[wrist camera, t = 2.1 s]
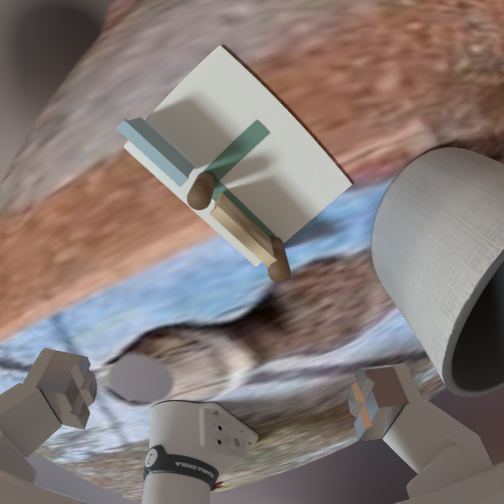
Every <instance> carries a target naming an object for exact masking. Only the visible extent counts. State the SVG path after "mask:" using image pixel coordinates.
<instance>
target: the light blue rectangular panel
mask: <svg viewBox="0 0 504 504" xmlns="http://www.w3.org/2000/svg"><path fill="white" fill-rule="evenodd" d="M117 130H118V131H119V132H120V133H121V134H122V135H124V136H125V137H126V138H127V139H128V140H129V141H130V142H131V143H132V144H133V145H134V146H136V147H137V148H138V149H139V150H140V151H141V152H142V153H143V154H144V155H145V156H147V157H148V158H149V159H150V160H151V161H152V162H153V163H154V164H155V165H156V166H157V167H159V168H160V169H161V170H162V171H163V172H164V173H165V174H166V175H167V176H168V177H170V178H171V179H172V180H173V181H174V182H175V183H176V184H177V185H178V186H179V187H181V186H182V185H183V184H184V183H185V182H186V181H187V180H188V179H189V175H190V173H191V172H192V170H193V169H194V166H193V165H192V164H191V163H190V162H189V161H188V160H187V159H186V158H185V157H183V156H182V155H181V154H180V153H179V152H178V151H177V150H176V149H175V148H174V147H173V146H172V145H170V144H169V143H168V142H167V141H166V140H165V139H164V138H163V137H162V136H161V135H160V134H158V133H157V132H156V131H155V130H154V129H153V128H152V127H151V126H150V125H149V124H147V123H146V122H145V121H144V120H143V119H142V118H137V119H133V120H129V121H127V120H126V119H125V120H123V122H122V123H121V124H120V125H119V126H118V128H117Z"/></svg>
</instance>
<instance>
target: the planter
mask: <svg viewBox="0 0 504 504" xmlns="http://www.w3.org/2000/svg"><path fill="white" fill-rule="evenodd" d="M371 254H372V260H373V264H374V267H375V270H376V273H377V275H378V277H379V279H380V281H381V283H382V285H383V286H384V288H385V290H386V291H387V293H388V294H389V296H390V297H391V299H392V300H393V301H394V303H395V304H396V306H397V307H398V309H399V310H400V312H401V313H402V315H403V316H404V318H405V320H406V321H407V323H408V324H409V326H410V327H411V329H412V330H413V332H414V333H415V335H416V337H417V338H418V340H419V341H420V343H421V345H422V346H423V348H424V350H425V351H426V353H427V355H428V356H429V358H430V360H431V361H432V363H433V365H434V367H435V368H436V370H437V372H438V374H439V375H440V377H441V379H442V381H443V382H444V384H445V386H446V387H447V388H448V390H449V391H450V392H452V393H453V394H455V395H458V396H463V397H474V396H480V395H484V394H487V393H490V392H492V391H495V390H496V389H499V388H501V387H503V386H504V164H503V163H500V162H498V161H496V160H493V159H491V158H489V157H486V156H484V155H481V154H479V153H476V152H474V151H471V150H467V149H463V148H456V147H445V148H439V149H435V150H432V151H429V152H427V153H425V154H423V155H421V156H419V157H418V158H416V159H415V160H413V161H412V162H411V163H409V164H408V165H407V166H406V167H405V168H404V169H403V170H402V171H401V172H400V173H399V174H398V175H397V176H396V178H395V179H394V180H393V181H392V183H391V184H390V186H389V187H388V189H387V190H386V192H385V194H384V196H383V198H382V200H381V202H380V204H379V207H378V209H377V212H376V215H375V219H374V223H373V227H372V234H371Z"/></svg>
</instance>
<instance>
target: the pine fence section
mask: <svg viewBox="0 0 504 504" xmlns="http://www.w3.org/2000/svg"><path fill="white" fill-rule="evenodd" d="M215 185H216V178H215V176H214V175H213V174H212V173H211V172H208V171H204V172H201V173H200V174H199V175H198V176H197V178H196V179H195V181H194V183H193V185H192V187H191V189H190V191H189V193H188V195H187V202H188V204H189V206H190V207H191V208H193V209H195V210H204V209H206V208H207V207H208V206H209V205H210V203H211V199H212V196H213V192H214V189H215ZM210 215H211V216H212V217H213V218H215V219H216V220H217V221H218V222H219V223H220V224H221V225H222V226H223V227H224V228H226V229H227V230H228V231H229V232H230V233H231V234H232V235H233V236H234V237H235V238H236V239H238V240H239V241H240V242H241V243H242V244H243V245H244V246H245V247H246V248H247V249H249V250H250V251H251V252H252V253H253V254H254V255H255V256H256V257H257V258H258V259H260V260H261V261H262V262H263V263H264V264H265V265H266V266H267V267H268V273H269V277H270V279H271V280H273V281H275V282H283V281H285V280H287V279H288V278H289V276H290V273H291V271H290V267H289V263H288V260H287V256H286V252H285V249H284V245H283V241H282V240H281V239H280V238H279V237H276V236H274V237H270V238H269V237H268V236H267V235H266V234H265V233H264V232H263V231H262V230H261V229H260V228H259V227H258V226H257V225H256V224H255V223H254V222H253V221H252V220H251V219H250V218H248V217H247V216H246V215H245V214H244V213H243V212H242V211H241V210H240V209H239V208H238V207H237V206H236V205H235V204H234V203H233V202H232V201H231V200H229V199H228V198H227V197H226V196H225V195H224V194H223V193H222V192H221V193H220V194H219V195H218V196H217V197H216V201H215V206H214V209H213V210H212V211H211V212H210Z"/></svg>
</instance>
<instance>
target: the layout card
mask: <svg viewBox="0 0 504 504" xmlns="http://www.w3.org/2000/svg"><path fill="white" fill-rule="evenodd" d="M145 122H146V123H147V124H149V125H150V126H151V127H152V128H153V129H154V130H155V131H156V132H157V133H158V134H160V135H161V136H162V137H163V138H164V139H165V140H166V141H167V142H168V143H169V144H170V145H172V146H173V147H174V148H175V149H176V150H177V151H178V152H179V153H180V154H181V155H182V156H183V157H185V158H186V159H187V160H188V161H189V162H190V163H191V164H192V165H193V166H194V169H193V170H192V172H191V173H190V175H189V179H188V180H187V181H186V182H185V183H184V184H183V185H182V186H181V187H179V186H178V185H177V184H176V183H175V182H174V181H173V180H172V179H171V178H170V177H168V176H167V175H166V174H165V173H164V172H163V171H162V170H161V169H160V168H159V167H157V166H156V165H155V164H154V163H153V162H152V161H151V160H150V159H149V158H148V157H147V156H145V155H144V154H143V153H142V152H141V151H140V150H139V149H138V148H137V147H136V146H134V145H133V144H132V143H131V142H130V141H129V140H128V142H127V143H126V144H125V145H124V148H125V149H126V150H127V151H128V152H129V153H130V154H132V155H133V156H134V157H135V158H136V159H137V160H138V161H139V162H140V163H141V164H143V165H144V166H145V167H146V168H147V169H148V170H149V171H150V172H151V173H152V174H154V175H155V176H156V177H157V178H158V179H159V180H160V181H161V182H162V183H163V184H165V185H166V186H167V187H168V188H169V189H170V190H171V191H172V192H173V193H174V194H176V195H177V196H178V197H179V198H180V199H181V200H182V201H183V202H184V203H186V204H187V205H188V206H189V204H188V202H187V195H188V193H189V191H190V189H191V187H192V185H193V183H194V181H195V179H196V178H197V176H198V175H199V174H200V173H201V172H204V171H208V172H211V173H212V174H213V175H214V176H215V178H216V185H215V189H214V192H213V196H212V199H211V203H210V205H209V206H208V207H207V208H206V209H204V210H195V209H193V208H191V207H190V206H189V207H190V208H191V209H192V210H193V211H194V212H195V213H197V214H198V215H199V216H200V217H201V218H202V219H203V220H204V221H205V222H207V223H208V224H209V225H210V226H211V227H212V228H213V229H214V230H215V231H217V232H218V233H219V234H220V235H221V236H222V237H223V238H224V239H225V240H227V241H228V242H229V243H230V244H231V245H232V246H233V247H234V248H236V249H237V250H238V251H239V252H240V253H241V254H242V255H243V256H244V257H246V258H247V259H248V260H249V261H250V262H251V263H252V264H253V265H255V266H256V267H257V266H258V265H259V264H260V263H261V262H262V261H261V260H260V259H258V258H257V257H256V256H255V255H254V254H253V253H252V252H251V251H250V250H249V249H247V248H246V247H245V246H244V245H243V244H242V243H241V242H240V241H239V240H238V239H236V238H235V237H234V236H233V235H232V234H231V233H230V232H229V231H228V230H227V229H226V228H224V227H223V226H222V225H221V224H220V223H219V222H218V221H217V220H216V219H215V218H213V217H212V216H211V215H210V212H211V211H212V210H213V209H214V206H215V201H216V197H217V196H218V195H219V194H220V193H221V192H222V193H223V194H224V195H225V196H226V197H227V198H228V199H229V200H231V201H232V202H233V203H234V204H235V205H236V206H237V207H238V208H239V209H240V210H241V211H242V212H243V213H244V214H245V215H246V216H247V217H248V218H250V219H251V220H252V221H253V222H254V223H255V224H256V225H257V226H258V227H259V228H260V229H261V230H262V231H263V232H264V233H265V234H266V235H267V236H268V237H269V238H270V237H274V236H276V237H279V238H280V239H281V240H282V241H283V244H284V243H285V242H286V241H287V240H288V239H290V238H291V237H292V236H293V235H294V234H295V233H297V232H298V231H299V230H300V229H301V228H302V227H304V226H305V225H306V224H307V223H308V222H309V221H311V220H312V219H313V218H314V217H315V216H316V215H318V214H319V213H320V212H321V211H322V210H323V209H325V208H326V207H327V206H328V205H329V204H330V203H331V202H333V201H334V200H335V199H336V198H337V197H338V196H340V195H341V194H342V193H343V192H344V191H345V190H346V189H348V188H349V187H350V186H351V185H352V184H351V182H350V181H349V180H348V179H347V177H346V176H345V175H344V174H343V173H342V171H341V170H340V169H339V168H338V167H337V165H336V164H335V163H334V162H333V161H332V159H331V158H330V157H329V156H328V155H327V154H326V152H325V151H324V150H323V149H322V148H321V147H320V146H319V144H318V143H317V142H316V141H315V140H314V139H313V138H312V136H311V135H310V134H309V133H308V132H307V131H306V130H305V129H304V128H303V127H302V125H301V124H300V123H299V122H298V121H297V120H296V119H295V118H294V117H293V116H292V115H291V114H290V113H289V111H288V110H287V109H286V108H285V107H284V106H283V105H282V104H281V103H280V102H279V101H278V100H277V99H276V98H275V97H274V96H273V95H272V94H271V93H270V92H269V91H268V90H267V89H266V88H265V87H264V86H263V85H262V84H261V83H260V82H259V81H258V80H257V79H256V78H255V77H254V76H253V75H252V74H251V73H250V72H249V71H248V70H247V69H245V68H244V67H243V66H242V65H241V64H240V63H239V62H238V61H237V60H236V59H235V58H234V57H233V56H232V55H230V54H229V53H228V52H227V51H226V50H225V49H224V48H223V47H222V46H220V45H219V46H218V47H217V48H216V49H215V50H214V51H213V52H212V53H211V54H209V55H208V56H207V57H206V58H205V59H204V60H203V61H202V62H201V63H200V64H199V65H198V66H197V67H196V68H195V69H194V70H193V71H192V72H191V73H190V74H189V75H188V76H187V77H186V78H185V79H184V80H183V81H182V82H181V83H180V84H179V85H178V86H177V87H176V88H175V89H174V90H173V91H172V92H171V93H170V94H169V95H168V96H167V97H166V98H165V99H164V100H163V101H162V103H161V104H160V105H159V106H158V107H157V108H156V109H155V110H154V111H153V112H152V114H151V115H150V116H149V117H148V118H147V119H146V120H145Z"/></svg>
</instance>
